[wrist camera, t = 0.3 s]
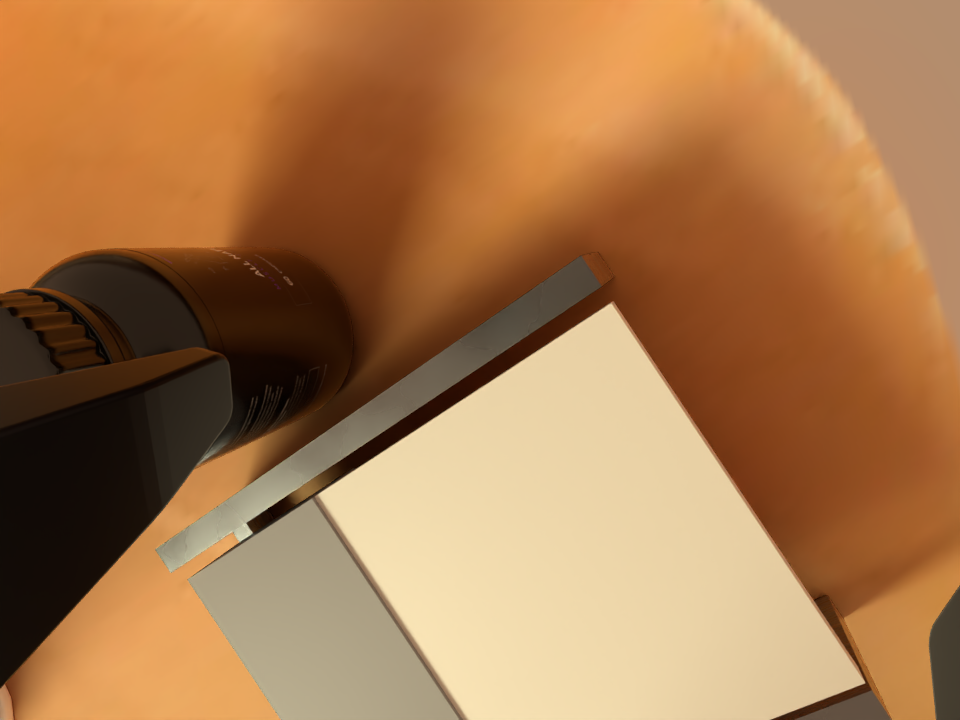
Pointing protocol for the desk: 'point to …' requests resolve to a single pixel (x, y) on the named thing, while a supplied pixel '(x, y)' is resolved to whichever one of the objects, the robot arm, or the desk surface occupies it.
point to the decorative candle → (5, 704)
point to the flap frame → (844, 716)
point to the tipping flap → (531, 566)
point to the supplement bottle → (189, 325)
